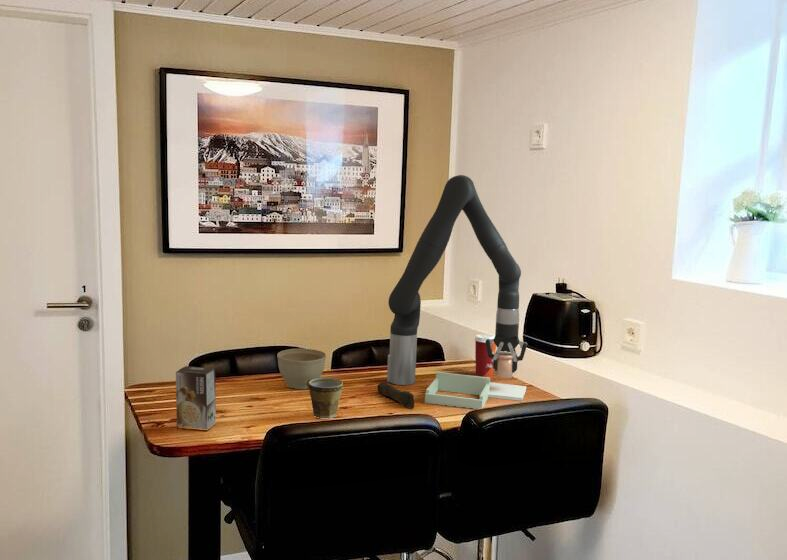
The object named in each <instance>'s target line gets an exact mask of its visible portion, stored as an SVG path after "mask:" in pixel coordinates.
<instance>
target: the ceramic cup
mask: <svg viewBox="0 0 787 560" xmlns="http://www.w3.org/2000/svg"><path fill="white" fill-rule="evenodd" d="M343 384H344V382H343V381H342V380H341V379H336V378H334V377H333V378H332V377H320V378H318V379H313V380H308V382H307V387H308V389H307V390H308V391H309V395H310V396H309V397H310V401H311V405H312V413H313V417H314V416H316V417H319V418H332V419H334V418H333V417H335V418H336V417H337V413H338V409H339V402H340V399H341V395H342V391H343V386H344V385H343ZM316 417H315V418H316ZM319 418H318V419H319Z"/></svg>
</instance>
